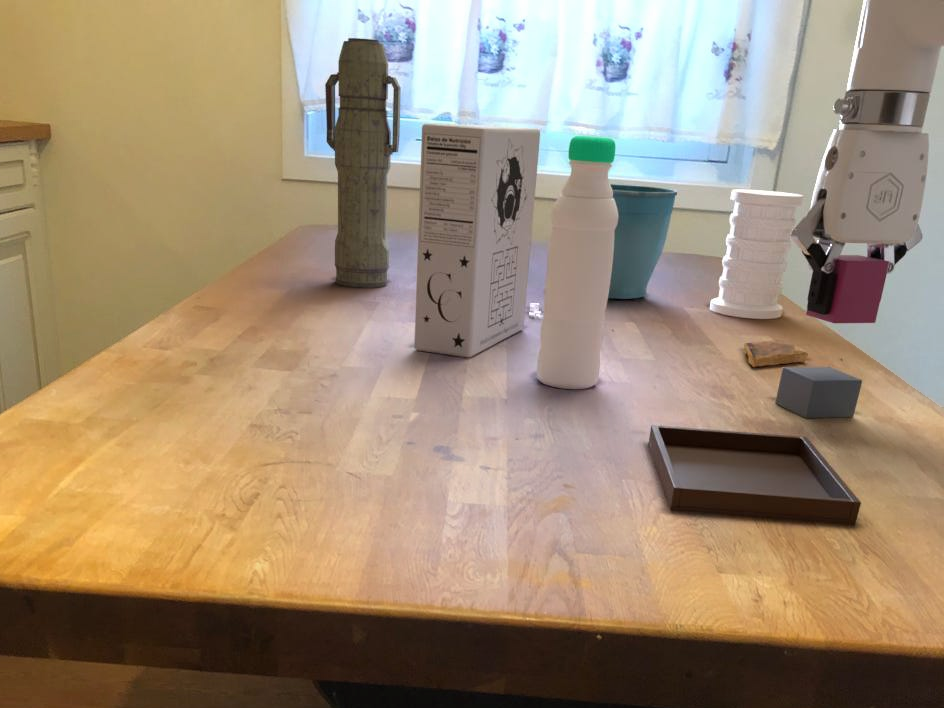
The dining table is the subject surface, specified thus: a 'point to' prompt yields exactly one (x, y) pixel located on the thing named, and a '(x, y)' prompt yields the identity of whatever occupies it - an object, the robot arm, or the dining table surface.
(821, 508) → the tray
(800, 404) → the base block
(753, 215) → the decorative container
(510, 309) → the cereal box
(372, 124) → the thermos
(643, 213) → the flower pot
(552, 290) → the water bottle
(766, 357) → the tan flat slab
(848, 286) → the mulberry block
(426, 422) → the dining table surface
